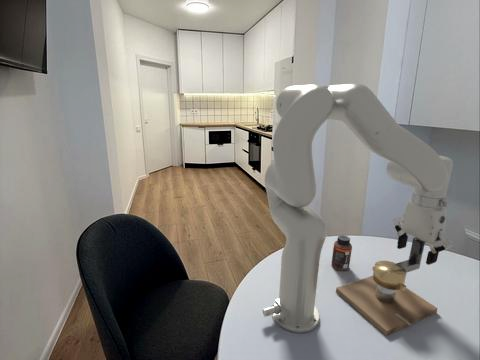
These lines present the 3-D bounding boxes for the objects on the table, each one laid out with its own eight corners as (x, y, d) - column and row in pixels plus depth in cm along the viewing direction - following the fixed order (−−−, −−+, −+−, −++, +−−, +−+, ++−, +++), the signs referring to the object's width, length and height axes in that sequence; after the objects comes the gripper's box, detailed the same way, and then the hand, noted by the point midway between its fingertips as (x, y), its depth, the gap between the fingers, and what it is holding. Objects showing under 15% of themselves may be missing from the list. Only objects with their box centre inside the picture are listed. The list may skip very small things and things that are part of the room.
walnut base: (389, 339, 70) (390, 333, 69) (335, 291, 87) (336, 287, 86) (440, 315, 78) (441, 310, 77) (382, 276, 94) (382, 271, 94)
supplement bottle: (350, 272, 96) (354, 243, 93) (332, 270, 97) (335, 241, 94) (347, 262, 102) (351, 234, 99) (330, 260, 103) (333, 232, 100)
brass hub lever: (393, 295, 74) (400, 259, 71) (363, 273, 83) (368, 240, 80) (432, 281, 80) (440, 247, 77) (400, 262, 89) (406, 231, 86)
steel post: (385, 305, 79) (389, 289, 77) (371, 294, 83) (374, 278, 82) (398, 300, 81) (401, 284, 79) (383, 290, 85) (386, 274, 84)
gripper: (470, 209, 71) (454, 268, 77) (407, 189, 87) (397, 239, 92) (452, 213, 69) (437, 274, 74) (390, 192, 84) (381, 243, 89)
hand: (415, 255), depth 83 cm, fingers open, 8 cm apart
